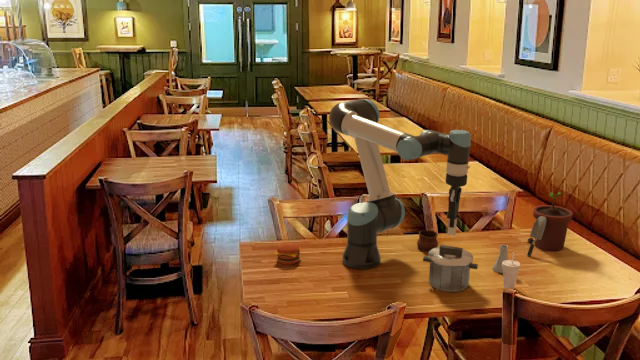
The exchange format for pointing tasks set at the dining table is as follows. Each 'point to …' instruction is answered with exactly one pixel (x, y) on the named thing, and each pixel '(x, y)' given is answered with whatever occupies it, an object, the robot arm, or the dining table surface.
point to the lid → (450, 256)
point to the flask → (501, 259)
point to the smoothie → (510, 272)
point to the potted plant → (549, 227)
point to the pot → (449, 276)
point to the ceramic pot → (427, 240)
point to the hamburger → (288, 253)
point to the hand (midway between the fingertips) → (451, 234)
